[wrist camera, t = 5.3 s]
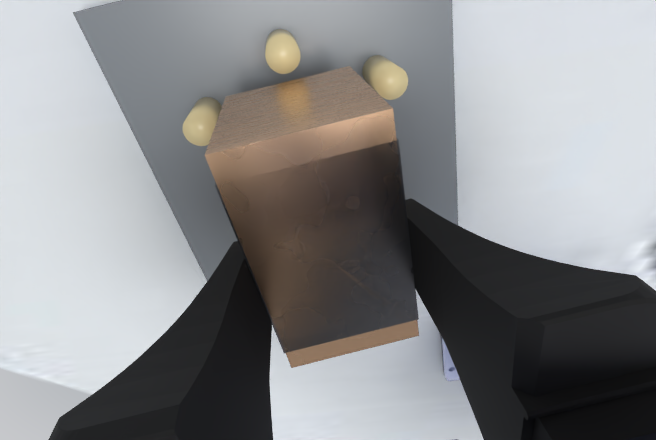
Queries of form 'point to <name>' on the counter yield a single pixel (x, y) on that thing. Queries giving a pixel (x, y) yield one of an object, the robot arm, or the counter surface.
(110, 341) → the counter surface
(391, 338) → the tan wooden block
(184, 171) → the grey peg board
